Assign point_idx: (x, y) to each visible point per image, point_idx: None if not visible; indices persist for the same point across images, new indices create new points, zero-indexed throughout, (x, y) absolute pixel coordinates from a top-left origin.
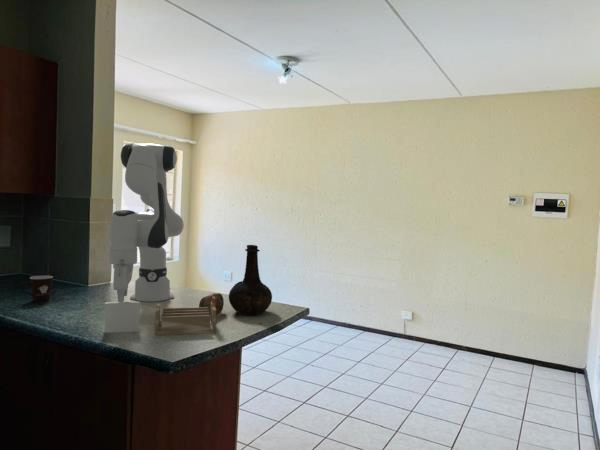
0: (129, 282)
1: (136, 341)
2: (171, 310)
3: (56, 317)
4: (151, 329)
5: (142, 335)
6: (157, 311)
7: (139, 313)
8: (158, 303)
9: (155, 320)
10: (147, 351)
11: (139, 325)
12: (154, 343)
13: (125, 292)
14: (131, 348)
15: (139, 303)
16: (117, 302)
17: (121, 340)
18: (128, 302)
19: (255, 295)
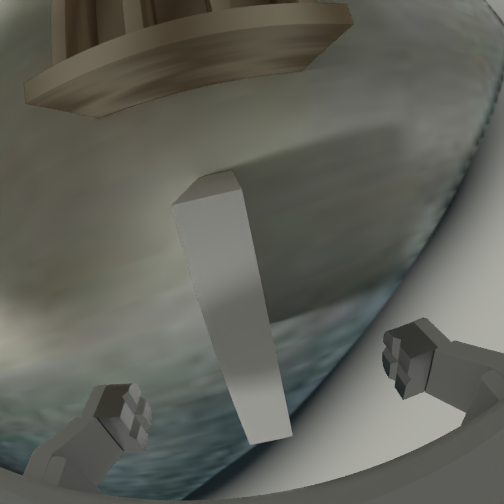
0: (82, 497)
1: (393, 142)
2: (70, 17)
3: (119, 474)
4: (189, 114)
5: (305, 132)
6: (343, 10)
7: (222, 180)
8: (44, 82)
9: (327, 45)
10: (476, 93)
11: (206, 177)
12: (409, 67)
13: (128, 416)
14: (459, 149)
15: (240, 188)
16: (255, 388)
17: (379, 212)
18: (244, 308)
19: None
